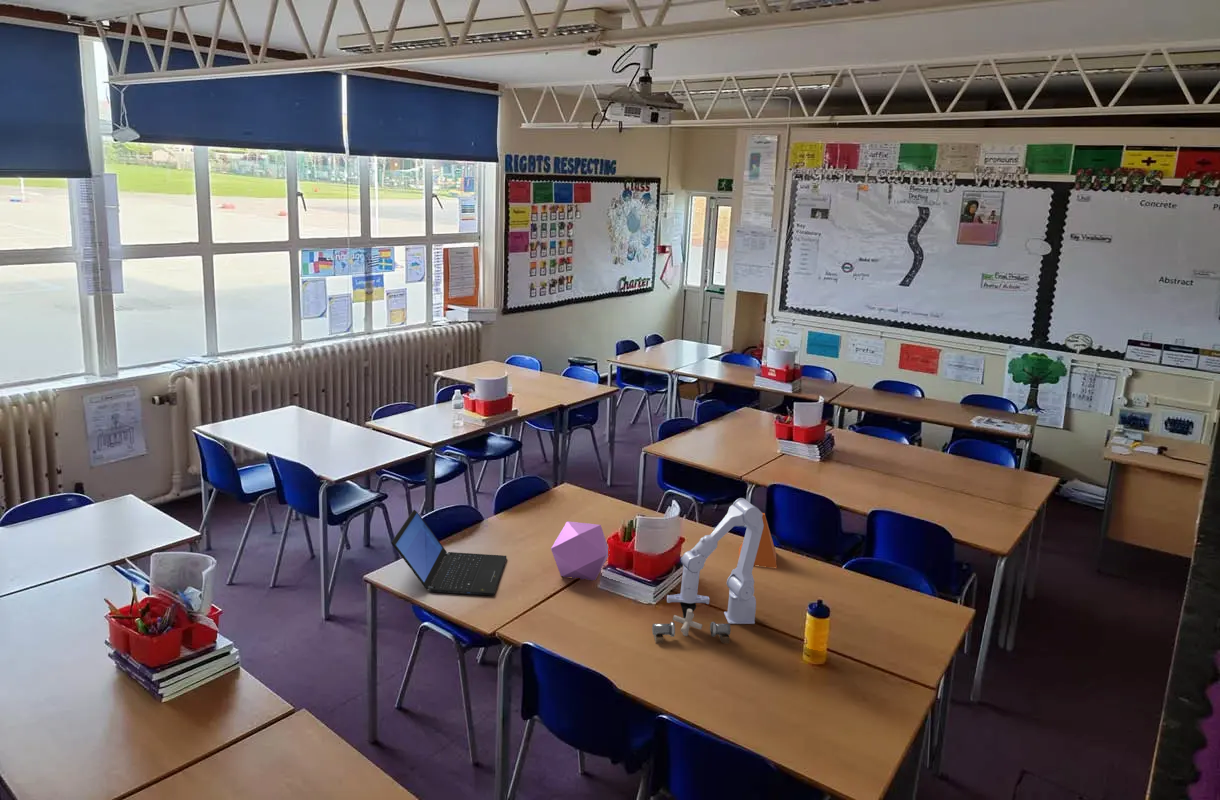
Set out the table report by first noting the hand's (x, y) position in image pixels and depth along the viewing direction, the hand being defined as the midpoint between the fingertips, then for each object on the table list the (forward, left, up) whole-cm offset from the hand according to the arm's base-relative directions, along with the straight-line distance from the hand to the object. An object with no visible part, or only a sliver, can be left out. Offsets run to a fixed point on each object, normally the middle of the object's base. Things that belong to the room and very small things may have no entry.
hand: (685, 621), depth 295 cm
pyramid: (-40, -55, -2) cm, 68 cm away
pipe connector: (+1, +6, -2) cm, 6 cm away
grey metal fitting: (+9, +9, -2) cm, 13 cm away
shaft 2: (-10, +9, -2) cm, 14 cm away
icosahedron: (+34, -39, -2) cm, 52 cm away
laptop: (+83, -39, -2) cm, 92 cm away
